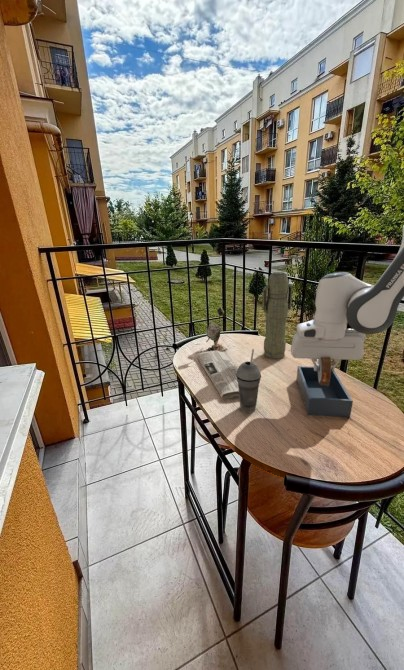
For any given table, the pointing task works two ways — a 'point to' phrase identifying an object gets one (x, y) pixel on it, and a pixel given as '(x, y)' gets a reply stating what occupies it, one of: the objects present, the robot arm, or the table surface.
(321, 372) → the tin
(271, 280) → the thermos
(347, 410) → the bin
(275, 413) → the table surface
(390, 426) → the table surface
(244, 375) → the beverage cup
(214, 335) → the plant with pod
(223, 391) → the newspaper
